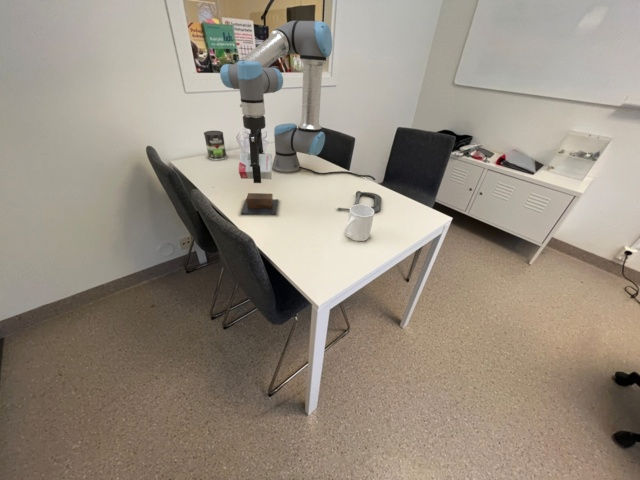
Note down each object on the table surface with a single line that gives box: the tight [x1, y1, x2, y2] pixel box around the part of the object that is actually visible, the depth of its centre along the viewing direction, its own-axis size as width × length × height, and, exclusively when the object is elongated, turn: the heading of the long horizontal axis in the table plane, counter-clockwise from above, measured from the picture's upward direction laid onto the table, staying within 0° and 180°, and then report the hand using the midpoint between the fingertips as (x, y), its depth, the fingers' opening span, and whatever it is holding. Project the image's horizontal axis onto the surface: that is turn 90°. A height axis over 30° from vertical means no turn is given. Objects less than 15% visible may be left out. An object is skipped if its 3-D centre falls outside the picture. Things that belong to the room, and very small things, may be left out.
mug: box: [345, 203, 375, 242], centre depth 94 cm, size 9×12×11 cm
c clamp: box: [337, 190, 382, 214], centre depth 118 cm, size 20×17×3 cm
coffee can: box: [203, 130, 228, 161], centre depth 153 cm, size 10×10×14 cm
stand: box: [240, 192, 279, 216], centre depth 109 cm, size 14×12×6 cm
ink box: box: [238, 152, 273, 180], centre depth 100 cm, size 9×5×12 cm
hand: (259, 177), depth 103 cm, fingers closed on ink box, 9 cm apart
